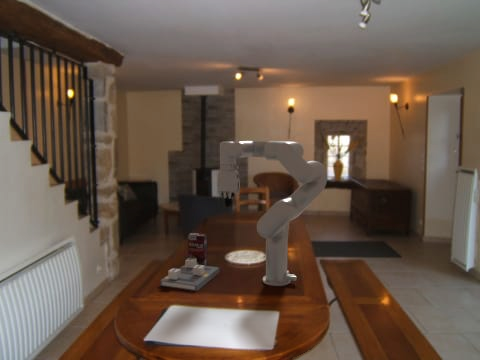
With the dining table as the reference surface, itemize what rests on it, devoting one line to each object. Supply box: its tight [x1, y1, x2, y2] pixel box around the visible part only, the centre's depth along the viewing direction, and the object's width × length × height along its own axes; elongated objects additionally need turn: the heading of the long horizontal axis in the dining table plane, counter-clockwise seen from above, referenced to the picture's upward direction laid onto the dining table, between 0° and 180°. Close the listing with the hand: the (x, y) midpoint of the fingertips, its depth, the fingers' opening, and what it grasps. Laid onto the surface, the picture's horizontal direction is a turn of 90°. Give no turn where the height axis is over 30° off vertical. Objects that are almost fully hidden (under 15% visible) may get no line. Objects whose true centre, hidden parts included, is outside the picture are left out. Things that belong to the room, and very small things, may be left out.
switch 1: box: [167, 267, 181, 280], centre depth 184 cm, size 4×4×4 cm
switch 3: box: [193, 265, 206, 276], centre depth 188 cm, size 4×4×4 cm
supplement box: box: [187, 232, 208, 266], centre depth 209 cm, size 9×5×16 cm, turn 78°
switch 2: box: [184, 258, 197, 268], centre depth 199 cm, size 4×4×4 cm
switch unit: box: [159, 264, 220, 292], centre depth 190 cm, size 18×24×3 cm
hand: (228, 206), depth 196 cm, fingers closed
